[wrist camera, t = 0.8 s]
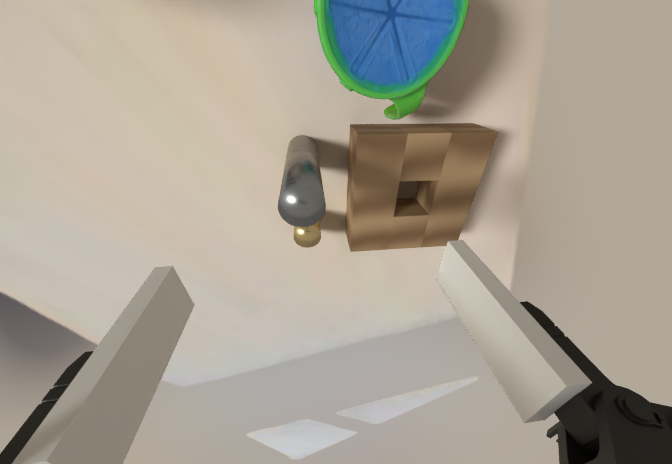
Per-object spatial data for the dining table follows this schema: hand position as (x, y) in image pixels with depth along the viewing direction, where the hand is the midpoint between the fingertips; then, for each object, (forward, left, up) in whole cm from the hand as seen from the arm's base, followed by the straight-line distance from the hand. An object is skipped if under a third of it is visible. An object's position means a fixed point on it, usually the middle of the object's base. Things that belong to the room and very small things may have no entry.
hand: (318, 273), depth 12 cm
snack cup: (-12, +6, -23) cm, 26 cm away
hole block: (+5, +13, -23) cm, 27 cm away
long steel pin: (0, -1, -23) cm, 23 cm away
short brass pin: (+10, -1, -23) cm, 25 cm away
